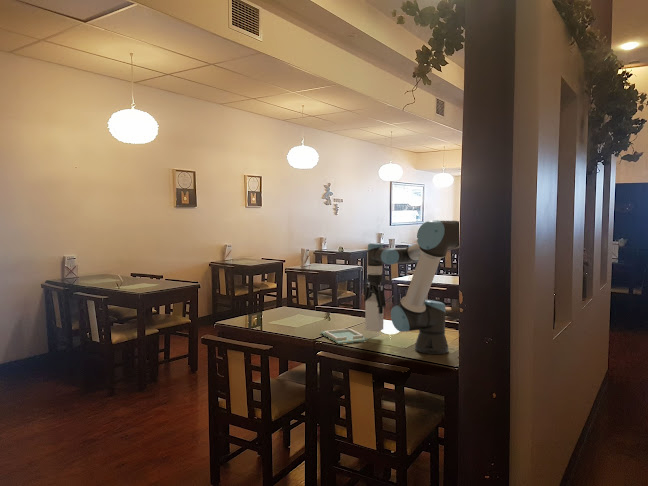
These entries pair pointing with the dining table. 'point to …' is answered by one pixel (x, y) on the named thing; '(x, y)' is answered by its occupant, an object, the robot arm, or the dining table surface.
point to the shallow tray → (344, 336)
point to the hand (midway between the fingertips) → (374, 317)
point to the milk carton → (372, 315)
